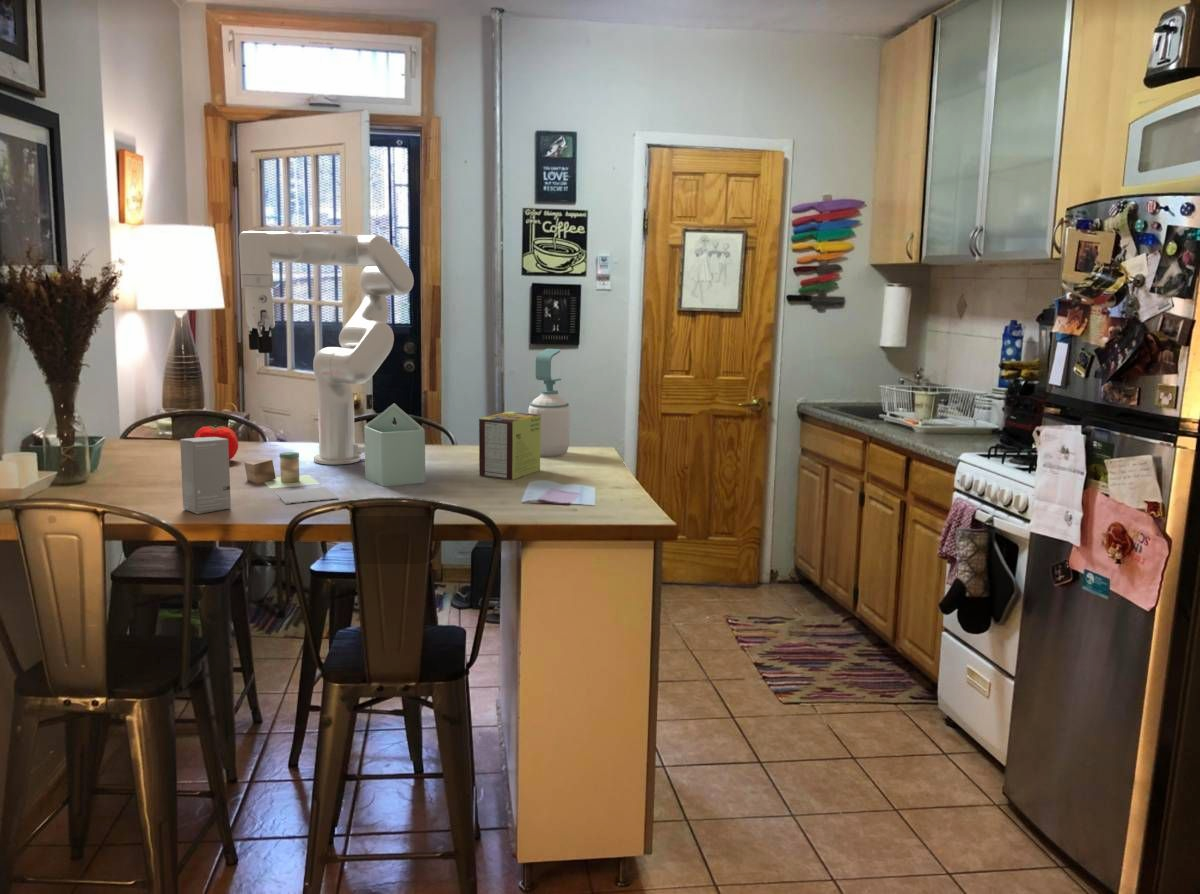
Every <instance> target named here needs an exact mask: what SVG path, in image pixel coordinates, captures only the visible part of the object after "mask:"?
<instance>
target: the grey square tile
mask: <svg viewBox="0 0 1200 894" xmlns="http://www.w3.org/2000/svg"><path fill="white" fill-rule="evenodd" d="M274 494H275V495H276V496H277V497H278V498H280V499H281V500H282V501H283V502H284V503H285V504H286V505H292V504H291V503H296V504H303V503H302V502H306V503H309V502H308V501H316V502H321V501H320V500H327V501H330V500H329V499H337V500H339V497H338V496H337V495H335V494H334V493H333V492H332V491H330V490H329V489H328V488H326V486H325V487H323V486H322V487H314V488H302V489H293V490H292V489H291V490H290V489H289V490H278V491H274ZM280 499H279V500H280ZM281 500H280V501H281ZM282 501H281V502H282ZM283 502H282V503H283ZM284 503H283V504H284ZM285 504H284V505H285Z"/></svg>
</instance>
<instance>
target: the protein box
mask: <svg viewBox="0 0 1200 894" xmlns="http://www.w3.org/2000/svg"><path fill="white" fill-rule="evenodd" d="M478 429H479V430H478V434H479V435H478V439H479V440H478V444H479V445H478V447H479V449H478V451H479V452H478V459H479V460H478V461H479V463H478V464H479V465H478V468H479V471H478V472H479V477H486V478H496V479H502V480H508V481H509V480H510V481H513V480H515V479H519V478H521V477H524V476H526V475H530V474H534V473H536V472H539V471H540V470H541V457H540V440H541V414H530V413H528V412H520V411H519V412H517V411H505V412H501V413H497V414H496V413H495V414H492V415H487V416H484V417H481V418H479V419H478Z"/></svg>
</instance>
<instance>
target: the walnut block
mask: <svg viewBox="0 0 1200 894" xmlns="http://www.w3.org/2000/svg"><path fill="white" fill-rule="evenodd" d="M273 461H274V460H273V459H271V458H267V457H259V458H256V459H251V460H248V461H244V462H243V463H244V470H245V475H246V480H247V481H248V482H252V483H254V484H263V483H264V482H267V481H271V480H274V479H276V472H275V467H274V462H273Z"/></svg>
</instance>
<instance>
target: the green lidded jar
mask: <svg viewBox="0 0 1200 894" xmlns="http://www.w3.org/2000/svg"><path fill="white" fill-rule="evenodd" d="M299 458H300V453H299V452H297V451H285V452H280V453H279V460H280V461H279V464H280V466H279V467H280V477H281V482H282V483H296V482H299V475H300V460H299Z"/></svg>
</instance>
